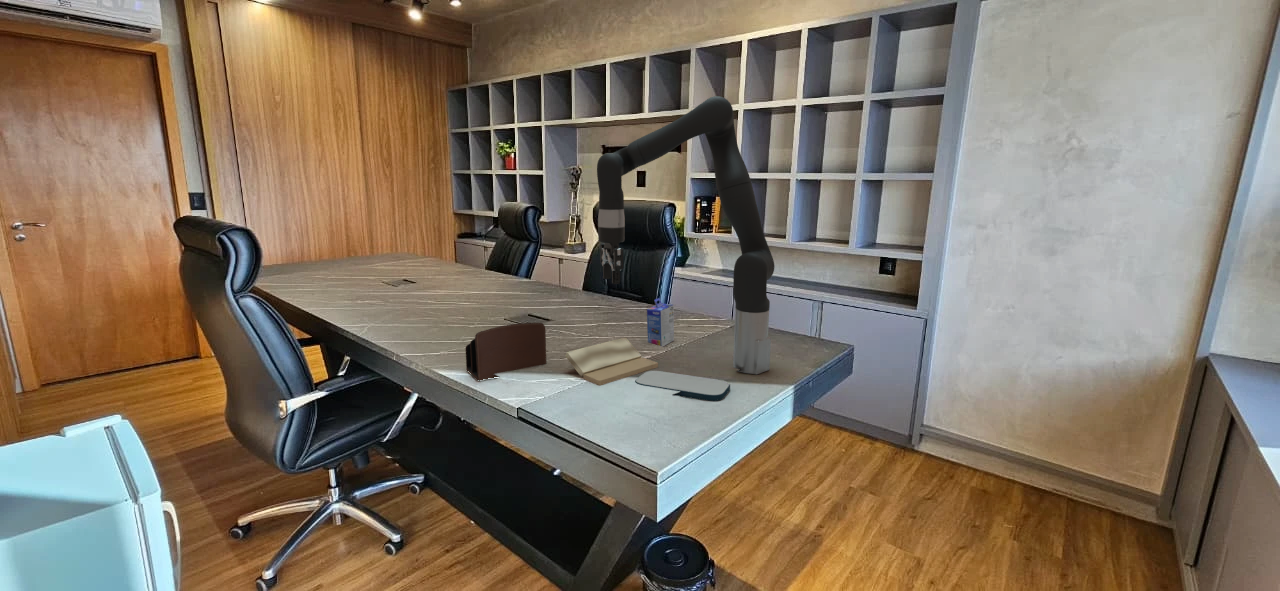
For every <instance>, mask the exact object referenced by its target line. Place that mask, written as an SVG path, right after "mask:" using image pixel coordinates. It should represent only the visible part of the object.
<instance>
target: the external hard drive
mask: <svg viewBox="0 0 1280 591" xmlns="http://www.w3.org/2000/svg"><path fill="white" fill-rule="evenodd" d="M634 383H636V384H637V385H639V386H644V387H650V388H657V389H663V390H668V391H676V393H673V394H672V396H676V397H682V398H689V399H695V400H700V401H707V402H719V401H722V400H723V399H725V397H726V396H727V395H728V393H729V392H730V391H731V384H730V383H729V382H728V381H726V380H723V379H717V378H711V377H710V378H709V377H704V376H695V375H691V374H682V373H676V372H669V371H663V370H648V371H644V372H642V374H641V375H640V376H638V377H637V378H635V380H634Z"/></svg>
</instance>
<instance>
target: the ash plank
mask: <svg viewBox="0 0 1280 591" xmlns="http://www.w3.org/2000/svg"><path fill="white" fill-rule="evenodd" d="M641 357H642V354H640V352H639V351H638V349H636V348H635V346H633V344H632V343H631V342H630V341H629V340H628V338H626V337H622V338H616V339H614V340H609V341H605V342H601V343H598V344H594V345H588V346H585V347H582V348H577V349H572V350H570V351H567V352H566V354H565V358H566V359H567V360H568V362H569V363H570V365H571V366H572V367H573V368H574V369H575V370H576V373H578V375H579V376H580V378H584V377H583V374H587V373H590V372H594V371H597V370H600V369H604V368H607V367H611V366H614V365H617V364H621V363H624V362H628V361H631V360H635V359H638V358H641Z"/></svg>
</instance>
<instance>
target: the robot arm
mask: <svg viewBox="0 0 1280 591" xmlns="http://www.w3.org/2000/svg"><path fill="white" fill-rule="evenodd" d="M734 119H735V118H734V108H733V106H732V103H731V102H730V101H729V100H728V99H727V98H725V97H723V96H719V95H718V96H711V97H709V98H707V99H705V100H704V101H703V102H701V103H700V104H699V105H696V106H695V107H694V108H692V109H691V110H690V111H689V112H687V113H686V114H683V115H682V116H680V117H679V118H678V119H676V120H673V121H672V122H670V123H668V124H666V125H664V126H662V127H660V128H657V129H655V130H654V131H652V132H650V133H648V134H645V135H644V136H641V137H639V138H637V139H636V140H633V141H631V142H630V143H629V144H628V145H627V146H625V147H623V148H620V149H618V150H616V151H614V152H605V153H604V154H602V155H601V156H600V157H599V158H598V161H597V164H596V177H597V184H598V192H599V193H598V194H599V196H598V209H599V210H598V218H597V219H598V220H597V226H598V227H597V231H598V235H597V236H598V238H597V240H598V242H599V243H600V253H599V254H600V256H599V258H600V260H599V262H600V264H601V265H602V273H603V276H602V278H603V279H604V280H611V284H612V285H620V284H621V271H622V270H624V249H623V247H620V246H619V244H620V243H623V242H625V226H626V224H625V220H626V219H625V217H626V216H625V197H624V195H625V194H624V191H623V188H622V187H623V186H622V179H623V178H622V177H623V176H625V175H627V174H628V173H630V172H632V171H634V170H635V169H637V168H639V167H641V166H644V165H647V164H649V163H652V162H653V161H655V160H658V159H661V157H664V155H666V154H668V153H670V152H671V151H673V150H675V148H677V147H678V146H680V145H682V144H684V143H685V142H687V141H689V140H691V139H693V138H697V137H698V136H701V135H704V136H705V138H706V140H707V143H708V145H709V149H710V152H711V156H712V161H713V168H714V178H715V183H716V188H717V189H716V190H717V194H718V197H719V200H720V205H721V208H722V209H723V213H724V215H725V216H726V218H727V220H728V222H729V224H730V225H731V227H732V228H733V230H734V232H735V234H736V236H737V238H738V239H737V240H738V242H739V247H740V251H741V255H740V256H739V257H738V258H737V259H736V261H735V264H734V267H733V287H732V288H733V291H732V293H733V300H734V302H735V305H734V306H735V307H734V308H735V309H734V312H735V314H734V331H733V332H734V337H733V356H732V357H733V359H732V360H733V363H732V368H734V369H737V372H740V373H744V374H753V375H759V374H762V373H765V372H767V371H770V366H771V364H770V363H771V347H772V346H771V342H772V337H770V336H769V321H770V308H771V307H770V302H771V301H770V299H768V296H767V292H768V290H767V283H768V282H767V281H768V280H770V279H771V278H772V276H773V275H774V272H775V260H774V258H773V255H772V253H771V252H772V251H771V249H770V247H769V244H768V241H767V239H766V236H765V233H764V230H763V227H762V221H761V216H760V213H759V208H758V206H757V200H756V195H755V191H754V187H753V183H752V181H751V176H750V173H749V171H748V168H747V166H746V164H745V160H744V159H743V157H742V154H741V151H740V149H739V146H738V142H737V135H736V134H737V133H736V130H735V129H736V128H735V120H734Z"/></svg>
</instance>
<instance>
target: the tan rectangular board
mask: <svg viewBox="0 0 1280 591" xmlns="http://www.w3.org/2000/svg"><path fill="white" fill-rule="evenodd" d="M656 368H659V362H657V361H654V360H651V359H648V358H644V357H643V356H641V358H638V359H635V360H631V361H628V362H624V363H621V364H617V365H614V366H611V367H607V368H604V369H600V370H597V371H594V372H590V373H587V374H583V377H582V378H583V380H586V381H588V382H589V383H592V384H595V385H597V386H604V385H607V384H609V383H612V382H613V383H614V382H615V381H616V382H617V381H618V380H621V379H625V378H628V377H632V376H635V375H637V374H641V373H645V372H647V371H652V370H653V369H656Z"/></svg>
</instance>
